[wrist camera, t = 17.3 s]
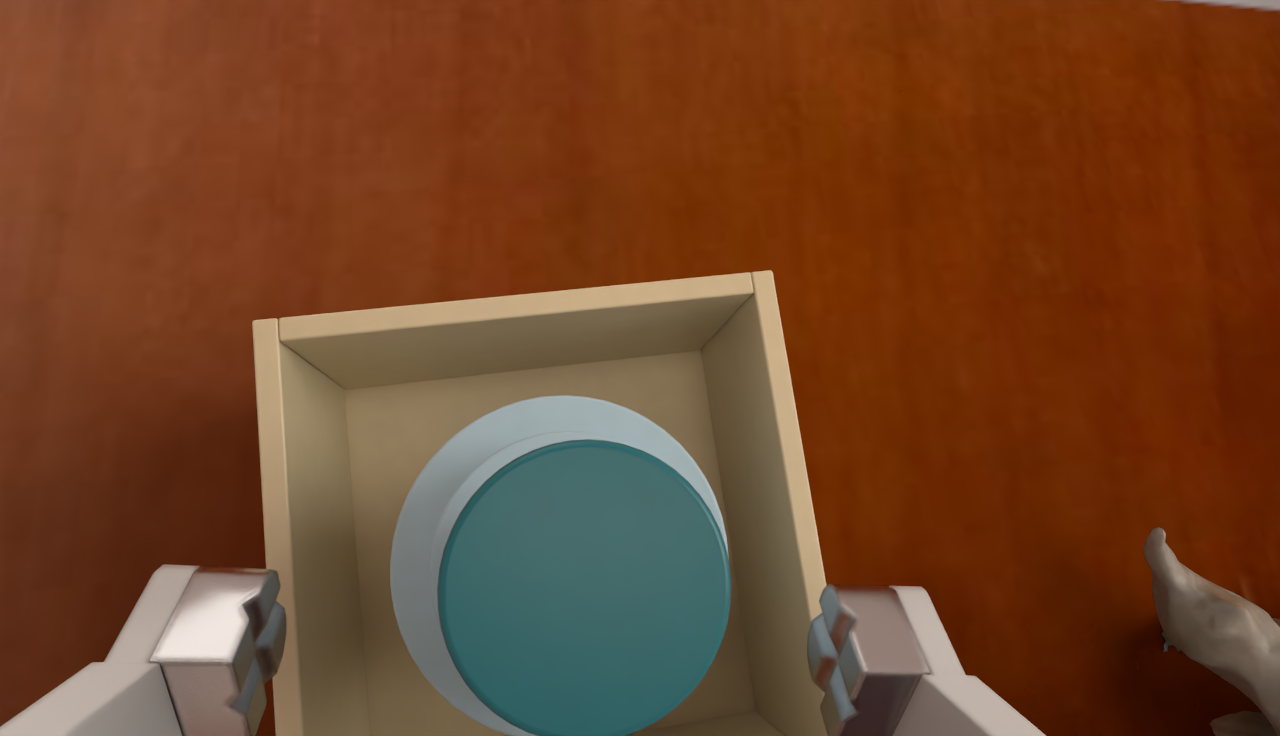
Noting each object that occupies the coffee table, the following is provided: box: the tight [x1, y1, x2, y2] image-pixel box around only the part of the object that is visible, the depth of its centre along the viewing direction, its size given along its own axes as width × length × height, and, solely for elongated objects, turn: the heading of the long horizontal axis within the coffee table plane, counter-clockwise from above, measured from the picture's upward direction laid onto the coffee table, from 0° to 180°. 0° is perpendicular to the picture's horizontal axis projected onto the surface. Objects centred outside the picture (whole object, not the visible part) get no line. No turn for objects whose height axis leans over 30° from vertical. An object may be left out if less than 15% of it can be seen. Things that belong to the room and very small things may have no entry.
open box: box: [252, 270, 828, 736], centre depth 20 cm, size 11×11×6 cm
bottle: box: [390, 395, 731, 736], centre depth 15 cm, size 6×6×15 cm
